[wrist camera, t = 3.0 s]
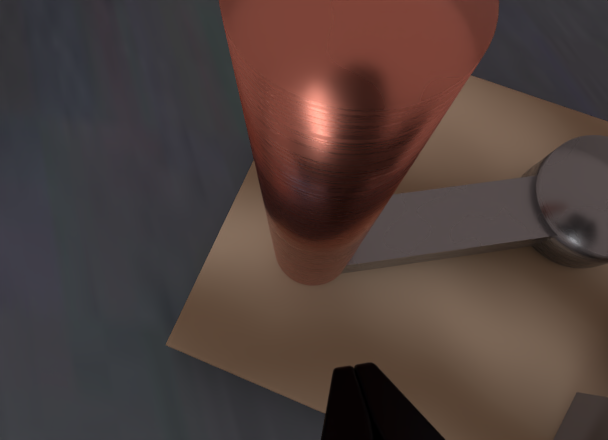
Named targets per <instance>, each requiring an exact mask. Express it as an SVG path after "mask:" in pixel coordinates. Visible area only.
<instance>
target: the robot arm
mask: <svg viewBox="0 0 608 440" xmlns="http://www.w3.org/2000/svg"><path fill="white" fill-rule="evenodd" d="M321 440H446V439H445V438H444V437H443V436H442V435H441V434H440V433H439V432H438V431H437V430H436V429H435V428H434V427H433V426H432V424H431V423H430V422H429V421H428V420H427V419H426V418H425V417H424V416H423V415H422V414H421V413H420V412H419V410H418V409H417V408H416V407H415V406H414V405H413V404H412V403H411V402H410V401H409V400H408V399H407V398H406V396H405V395H404V394H403V393H402V392H401V391H400V390H399V389H398V388H397V387H396V386H395V385H394V384H393V382H392V381H391V380H390V379H389V378H388V377H387V376H386V375H385V374H384V373H383V372H382V371H381V370H380V369H379V367H378V366H377V365H376V364H374V363H372V362H368V363H361V364H356V365H355V366H354V368H353V366H350V365H349V366H342V367H336V368H334V370H333V373H332V378H331V384H330V390H329V396H328V402H327V407H326V413H325V419H324V425H323V431H322V436H321Z"/></svg>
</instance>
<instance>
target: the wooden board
mask: <svg viewBox="0 0 608 440" xmlns="http://www.w3.org/2000/svg"><path fill="white" fill-rule="evenodd" d="M586 135H602V136H608V122H607V121H605V120H602V119H599V118H596V117H593V116H590V115H587V114H584V113H581V112H578V111H575V110H572V109H569V108H566V107H563V106H560V105H557V104H554V103H551V102H548V101H545V100H542V99H539V98H536V97H533V96H530V95H527V94H525V93H522V92H519V91H516V90H513V89H510V88H507V87H504V86H501V85H498V84H495V83H492V82H489V81H486V80H483V79H480V78H477V77H474V76H471V75H470V77H469V78H468V80H467V81H466V83H465V85H464V86H463V88H462V89H461V91H460V92H459V94H458V95H457V97H456V98H455V100H454V101H453V103H452V105H451V106H450V108H449V109H448V111H447V112H446V114H445V115H444V117H443V118H442V120H441V121H440V123H439V124H438V126H437V128H436V129H435V131H434V132H433V134H432V135H431V137H430V138H429V140H428V141H427V143H426V144H425V146H424V148H423V149H422V151H421V152H420V154H419V155H418V157H417V158H416V160H415V161H414V163H413V164H412V166H411V168H410V169H409V171H408V172H407V174H406V175H405V177H404V178H403V180H402V181H401V183H400V184H399V186H398V187H397V189H396V191H395V192H394V194H400V193H408V192H415V191H423V190H431V189H438V188H446V187H453V186H461V185H468V184H476V183H484V182H491V181H499V180H506V179H514V178H521V177H522V175H523V174H524V173H525V172H526V171H527V170H529V169H530V168H531V167H533V166H534V165H535V164H537V163H538V162H539V161H541V160H542V159H543V158H545V157H546V156H547V155H548V154H550V153H551V152H552V151H554V150H555V149H556V148H558V147H559V146H561V145H562V144H563V143H565V142H567V141H569V140H571V139H574V138H577V137H581V136H586ZM166 345H167V346H169V347H171V348H174V349H176V350H178V351H181V352H183V353H185V354H188V355H190V356H192V357H195V358H197V359H199V360H202V361H204V362H206V363H209V364H211V365H213V366H216V367H218V368H220V369H223V370H225V371H227V372H230V373H232V374H234V375H236V376H239V377H241V378H243V379H246V380H248V381H250V382H253V383H255V384H257V385H260V386H262V387H264V388H267V389H269V390H271V391H274V392H276V393H278V394H281V395H283V396H285V397H288V398H290V399H292V400H295V401H297V402H299V403H302V404H304V405H306V406H309V407H311V408H313V409H316V410H318V411H320V412H323V413H326V407H327V402H328V396H329V390H330V384H331V378H332V373H333V370H334V368H336V367H342V366H349V365H350V366H353V368H354V366H355V365H356V364H361V363H368V362H372V363H374V364H376V365H377V366H378V367H379V369H380V370H381V371H382V372H383V373H384V374H385V375H386V376H387V377H388V378H389V379H390V380H391V381H392V382H393V384H394V385H395V386H396V387H397V388H398V389H399V390H400V391H401V392H402V393H403V394H404V395H405V396H406V398H407V399H408V400H409V401H410V402H411V403H412V404H413V405H414V406H415V407H416V408H417V409H418V410H419V412H420V413H421V414H422V415H423V416H424V417H425V418H426V419H427V420H428V421H429V422H430V423H431V424H432V426H433V427H434V428H435V429H436V430H437V431H438V432H439V433H440V434H441V435H442V436H443V437H444V438H445V439H446V440H608V264H605V265H601V266H597V267H593V268H585V269H578V268H570V267H565V266H562V265H559V264H557V263H554V262H552V261H550V260H548V259H547V258H545V257H543V256H542V255H541V254H539V253H538V252H537V251H536V250H535V249H534V248H532V247H531V246H530V247H523V248H516V249H509V250H502V251H495V252H489V253H482V254H475V255H468V256H461V257H454V258H447V259H440V260H433V261H426V262H419V263H412V264H405V265H398V266H391V267H384V268H377V269H370V270H363V271H356V272H349V273H342V274H340V275H339V276H338V277H337V278H335V279H334V280H332V281H330V282H328V283H326V284H322V285H316V286H310V285H304V284H300V283H298V282H296V281H294V280H292V279H291V278H289V277H288V276H287V275H286V274H285V273H284V272H283V271H282V269H281V268H280V266H279V264H278V262H277V259H276V256H275V251H274V247H273V243H272V238H271V234H270V229H269V225H268V220H267V216H266V211H265V207H264V202H263V198H262V193H261V189H260V184H259V180H258V175H257V171H256V167H255V162H254V161H253V163H252V165H251V167H250V169H249V171H248V173H247V175H246V178H245V180H244V182H243V184H242V186H241V188H240V190H239V192H238V194H237V196H236V199H235V201H234V203H233V205H232V207H231V209H230V211H229V213H228V215H227V217H226V219H225V222H224V224H223V226H222V228H221V230H220V232H219V234H218V236H217V238H216V240H215V242H214V245H213V247H212V249H211V251H210V253H209V255H208V257H207V259H206V261H205V263H204V265H203V268H202V270H201V272H200V274H199V276H198V278H197V280H196V282H195V284H194V286H193V289H192V291H191V293H190V295H189V297H188V299H187V301H186V303H185V305H184V307H183V309H182V312H181V314H180V316H179V318H178V320H177V322H176V324H175V326H174V328H173V330H172V332H171V335H170V337H169V339H168V341H167V343H166Z"/></svg>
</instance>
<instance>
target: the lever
mask: <svg viewBox="0 0 608 440" xmlns="http://www.w3.org/2000/svg"><path fill="white" fill-rule="evenodd" d="M219 4H220V9H221V14H222V19H223V24H224V28H225V33H226V37H227V41H228V46H229V50H230V55H231V59H232V64H233V68H234V73H235V77H236V82H237V86H238V91H239V95H240V100H241V104H242V108H243V113H244V117H245V122H246V126H247V131H248V135H249V140H250V144H251V149H252V153H253V158H254V162H255V167H256V171H257V175H258V180H259V184H260V189H261V193H262V198H263V202H264V207H265V211H266V216H267V220H268V225H269V229H270V234H271V238H272V243H273V247H274V251H275V256H276V259H277V262H278V264H279V266H280V268H281V269H282V271H283V272H284V273H285V274H286V275H287V276H288V277H289V278H291V279H292V280H294V281H296V282H298V283H300V284H304V285H310V286H316V285H322V284H326V283H328V282H330V281H332V280H334V279H335V278H337V277H338V276H339V275H340V274H342V273H349V272H356V271H363V270H370V269H377V268H384V267H391V266H398V265H405V264H412V263H419V262H426V261H433V260H440V259H447V258H454V257H461V256H468V255H475V254H482V253H489V252H495V251H502V250H509V249H516V248H523V247H530V246H531V247H532V248H534V249H535V250H536V251H537V252H538V253H539V254H541V255H542V256H543V257H545V258H547V259H548V260H550V261H552V262H554V263H557V264H559V265H562V266H565V267H570V268H578V269H585V268H593V267H597V266H601V265H605V264H608V136H602V135H586V136H581V137H577V138H574V139H571V140H569V141H567V142H565V143H563V144H562V145H561V146H559V147H558V148H556V149H555V150H554V151H552V152H551V153H550V154H548V155H547V156H546V157H545V158H543V159H542V160H541V161H539V162H538V163H537V164H535V165H534V166H533V167H531V168H530V169H529V170H527V171H526V172H525V173H524V174H523V175H522V177H521V178H514V179H506V180H499V181H491V182H484V183H476V184H468V185H461V186H453V187H446V188H438V189H431V190H423V191H415V192H408V193H400V194H394V192H395V191H396V189H397V187H398V186H399V184H400V183H401V181H402V180H403V178H404V177H405V175H406V174H407V172H408V171H409V169H410V168H411V166H412V164H413V163H414V161H415V160H416V158H417V157H418V155H419V154H420V152H421V151H422V149H423V148H424V146H425V144H426V143H427V141H428V140H429V138H430V137H431V135H432V134H433V132H434V131H435V129H436V128H437V126H438V124H439V123H440V121H441V120H442V118H443V117H444V115H445V114H446V112H447V111H448V109H449V108H450V106H451V105H452V103H453V101H454V100H455V98H456V97H457V95H458V94H459V92H460V91H461V89H462V88H463V86H464V85H465V83H466V81H467V80H468V78H469V77H470V75H471V74H472V72H473V71H474V69H475V68H476V66H477V65H478V63H479V61H480V60H481V58H482V57H483V55H484V54H485V52H486V50H487V49H488V47H489V45H490V43H491V40H492V38H493V35H494V33H495V30H496V25H497V21H498V12H499V0H219Z"/></svg>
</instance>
